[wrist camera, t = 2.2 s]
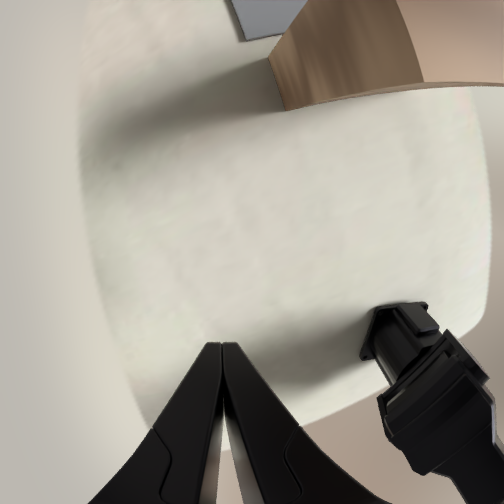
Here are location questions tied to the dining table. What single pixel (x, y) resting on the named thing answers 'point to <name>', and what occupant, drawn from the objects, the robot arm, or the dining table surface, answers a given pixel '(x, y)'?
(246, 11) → the mat
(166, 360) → the dining table surface
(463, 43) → the walnut block
